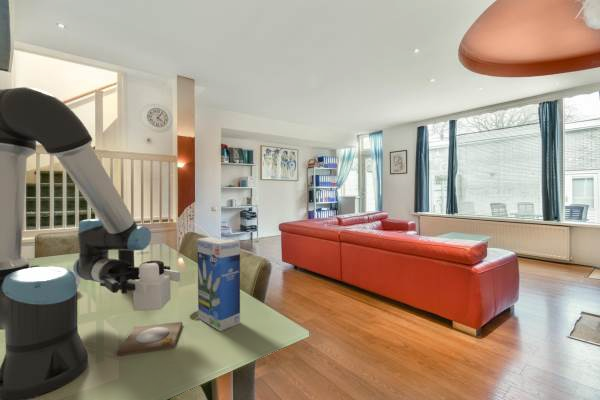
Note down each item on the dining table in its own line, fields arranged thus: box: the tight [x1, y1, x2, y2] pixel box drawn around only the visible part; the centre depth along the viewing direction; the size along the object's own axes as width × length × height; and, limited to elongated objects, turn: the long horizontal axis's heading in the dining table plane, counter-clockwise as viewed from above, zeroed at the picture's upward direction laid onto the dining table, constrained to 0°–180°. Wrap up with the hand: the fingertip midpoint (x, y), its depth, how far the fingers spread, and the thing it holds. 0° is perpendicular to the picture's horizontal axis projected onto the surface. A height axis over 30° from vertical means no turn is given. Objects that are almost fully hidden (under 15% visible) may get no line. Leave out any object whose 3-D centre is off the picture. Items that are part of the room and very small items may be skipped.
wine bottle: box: [117, 250, 135, 282], centre depth 120 cm, size 6×6×30 cm
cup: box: [71, 270, 81, 293], centre depth 114 cm, size 7×10×8 cm
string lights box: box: [197, 235, 241, 332], centre depth 87 cm, size 13×8×26 cm, turn 48°
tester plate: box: [116, 321, 183, 357], centre depth 77 cm, size 13×13×2 cm
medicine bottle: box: [132, 260, 172, 312], centre depth 77 cm, size 7×7×12 cm
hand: (163, 282), depth 75 cm, fingers closed on medicine bottle, 9 cm apart
